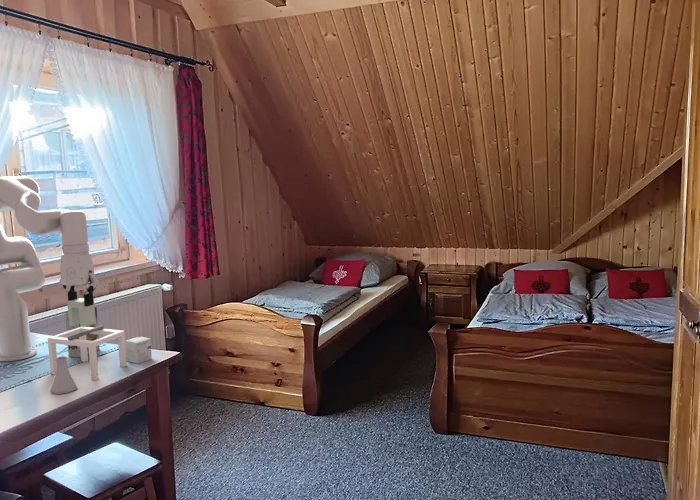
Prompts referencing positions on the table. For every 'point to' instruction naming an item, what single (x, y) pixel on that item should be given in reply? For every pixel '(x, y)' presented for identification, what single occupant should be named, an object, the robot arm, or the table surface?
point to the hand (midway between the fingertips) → (81, 304)
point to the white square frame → (85, 343)
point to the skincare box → (138, 349)
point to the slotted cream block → (80, 313)
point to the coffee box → (75, 350)
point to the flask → (62, 378)
